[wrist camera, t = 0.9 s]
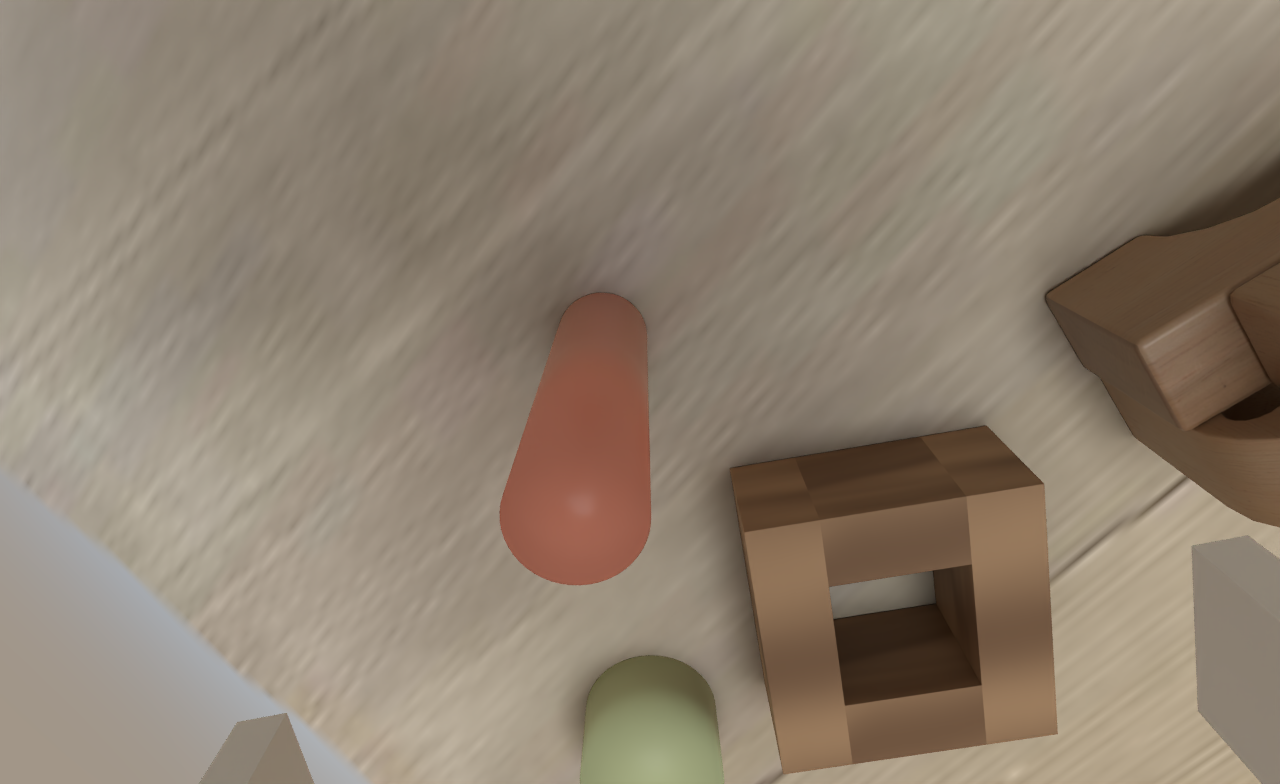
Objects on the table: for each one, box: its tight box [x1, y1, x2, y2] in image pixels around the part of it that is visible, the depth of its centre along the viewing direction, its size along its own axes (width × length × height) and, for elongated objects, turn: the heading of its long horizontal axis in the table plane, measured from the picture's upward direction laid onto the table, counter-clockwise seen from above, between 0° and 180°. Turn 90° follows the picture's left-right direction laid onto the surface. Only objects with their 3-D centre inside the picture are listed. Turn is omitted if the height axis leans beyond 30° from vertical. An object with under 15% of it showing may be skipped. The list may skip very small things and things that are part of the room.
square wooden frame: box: [730, 426, 1058, 774], centre depth 33 cm, size 9×9×5 cm
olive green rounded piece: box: [580, 655, 724, 784], centre depth 35 cm, size 5×5×4 cm
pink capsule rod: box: [500, 293, 651, 585], centre depth 26 cm, size 3×3×14 cm
